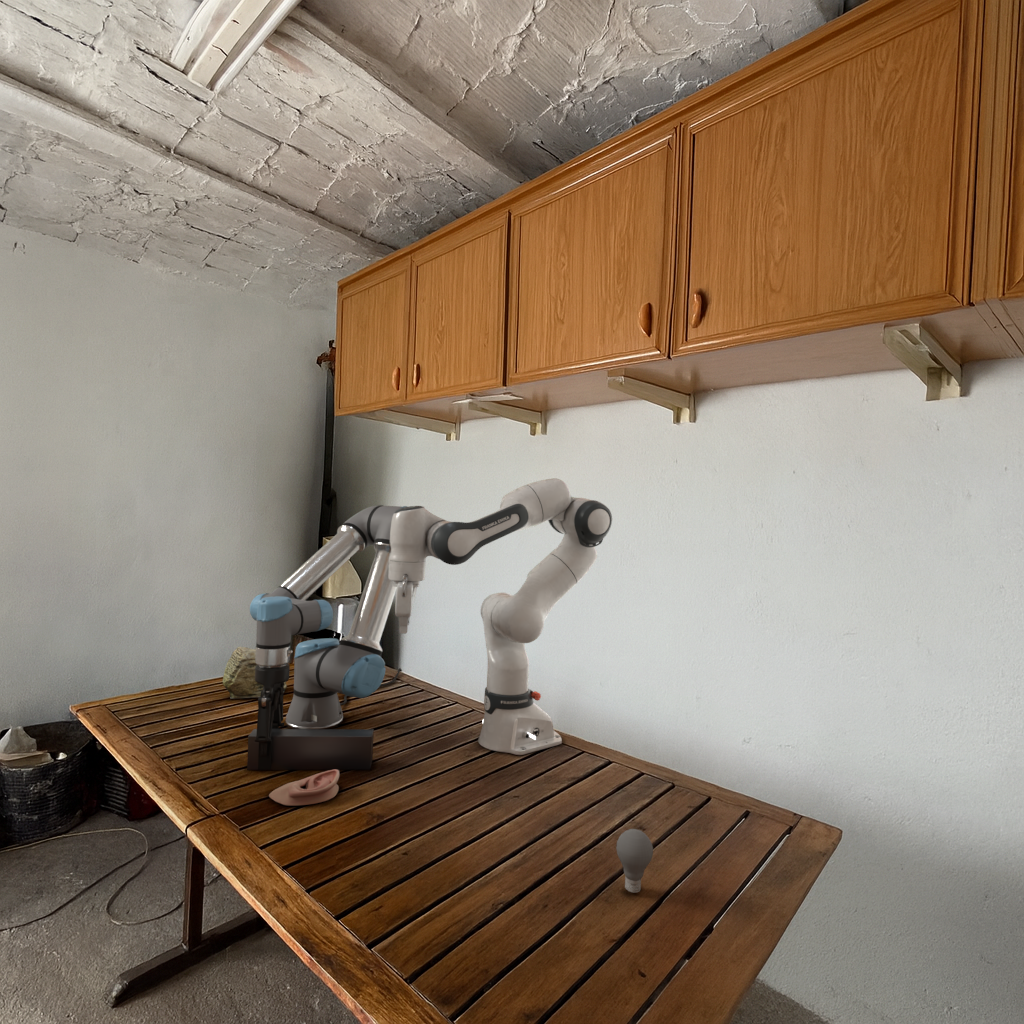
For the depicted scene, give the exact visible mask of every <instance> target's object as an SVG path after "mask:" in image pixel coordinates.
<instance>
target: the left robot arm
mask: <svg viewBox="0 0 1024 1024" xmlns="http://www.w3.org/2000/svg"><path fill="white" fill-rule="evenodd" d="M403 507H408V506H407V505H403V506H401V505H399V506H397V505H383V504H377V505H376V504H375V505H371V506H368V507H366V508H364V509H362V510H360V511H358V512H357V513H355V514H354V515H352V516H351V517H349V518H348V519H347V520H346V521H344V522H343V523H342V524H341V525H340V526H338V528H337V530H336V534H335V535H334V536H333V537H332V538H331V539H330V540H328V541H327V542H326V543H325V544H324V545H323V546H322V547H321V548H319V549H318V550H317V551H316V552H315V553H314V554H312V555H311V557H310V558H308V559H307V560H306V561H305V562H304V563H302V564H301V565H300V567H299V568H297V569H296V570H294V572H293V573H292V574H290V575H289V576H288V577H287V578H286V579H285V580H284V581H283V582H281V584H279V585H278V586H277V587H276V588H275V589H273V591H272V592H270V593H269V592H265V593H260V594H258V595H256V596H254V597H253V599H252V600H251V602H250V605H249V613H250V615H251V618H252V619H253V620H254V621H256V634H255V635H256V638H255V639H256V641H255V642H256V643H255V649H256V657H255V663H256V664H257V666H256V667H255V681H256V682H257V683H259V684H262V685H263V686H264V687H263V690H262V691H261V695H260V697H257V698H258V699H257V721H256V722H257V723H256V729H257V735H256V739H255V742H259V754H258V770H257V771H271V770H270V769H271V759H272V740H271V733H272V729H282V728H285V726H286V728H287V729H336V728H337V727H339V726H340V725H342V723H343V722H344V714H343V709H342V706H344V705H346V704H347V702H348V698H347V697H349V698H357V699H365V698H367V697H370V696H371V695H372V694H374V693H375V692H376V691H377V690H378V689H379V688H381V687H385V686H388V685H390V684H391V685H392V684H393V683H394V682H395V681H396V680H397V678H398V677H399V675H400V673H401V672H402V671H403V670H402V668H401V667H399V668H398V669H397V672H398V673H397V672H396V674H395V676H394V677H393V679H391V680H390V681H388V682H386V683H383V681H384V679H385V675H386V667H385V666H386V662H385V660H384V659H383V658H382V654H383V648H382V646H381V644H380V643H381V638H382V636H383V632H384V630H385V627H386V624H387V621H388V617H389V614H390V611H391V608H392V604H393V602H394V598H395V596H396V589H397V587H395V586H393V580H390V579H388V571H389V557H390V554H391V546H390V529H391V521H392V517H393V514H394V512H395V511H396V510H398V509H400V508H403ZM370 546H373V548H374V549H373V550H374V551H375V555H374V558H373V561H372V564H371V567H370V570H369V573H368V576H367V578H366V582H365V585H364V587H363V591H362V594H361V597H360V599H359V603H358V605H357V608H356V611H355V614H354V617H353V620H352V623H351V626H350V629H349V632H348V633H347V634H346V636H344V637H342V638H341V639H340V641H339V639H338V638H335V637H333V638H332V637H329V638H315V639H308V640H304V641H302V642H299V643H298V644H297V645H296V646H295V652H294V653H295V654H294V656H293V659H294V661H293V662H294V663H293V665H294V667H293V695H292V696H293V697H292V699H291V702H290V704H289V708H288V711H287V713H286V715H285V722H283V721H284V692H283V690H284V682H286V683H287V681H289V679H290V670H291V669H290V664H289V662H290V659H291V655H292V654H293V650H292V649H291V642H292V641H291V640H292V636H296V635H297V636H298V635H302V634H307V633H311V632H312V633H313V632H319V631H321V630H325V629H327V628H329V627H330V625H331V624H332V623H333V619H334V610H333V607H332V605H331V604H330V602H329V601H327V600H325V599H313V600H308V599H309V597H311V596H312V595H313V594H314V593H315V592H316V591H317V590H318V589H319V588H320V587H321V586H322V585H323V584H325V582H326V581H328V579H330V578H331V576H332V575H334V574H335V573H336V572H337V571H338V570H339V569H340V568H342V566H343V565H344V564H345V563H346V562H348V561H349V560H350V559H351V558H352V557H353V556H354V555H355V554H356V553H362V552H363V551H364V550H365V549H366V548H368V547H370ZM338 694H340V695H344V697H343V702H340V699H339V695H338Z"/></svg>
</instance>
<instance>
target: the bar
mask: <svg viewBox="0 0 1024 1024" xmlns="http://www.w3.org/2000/svg"><path fill="white" fill-rule="evenodd" d="M374 732H375V731H374V729H373V728H369V729H365V728H361V729H360V728H359V729H357V728H356V729H355V728H353V729H351V728H349V729H347V728H333V729H289V728H281V729H272V733H271V740H272V759H271V769H270V770H269V771H312V770H313V771H314V770H315V771H317V770H319V771H321V770H322V771H323V770H324V771H329V770H333V769H337V770H339V771H341V770H342V771H343V770H344V771H345V770H348V771H349V770H352V771H353V770H354V771H355V770H356V771H357V770H360V771H362V770H371V767H372V764H373V758H374V757H373V754H374V753H373V752H374ZM256 735H257V728H254V729H252V731H251V732H250V733H249V735H248V736H247V739H248V740H247V758H246V759H247V760H246V762H247V763H246V770H247V771H259V770H258V754H259V742H255V739H256Z"/></svg>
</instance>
